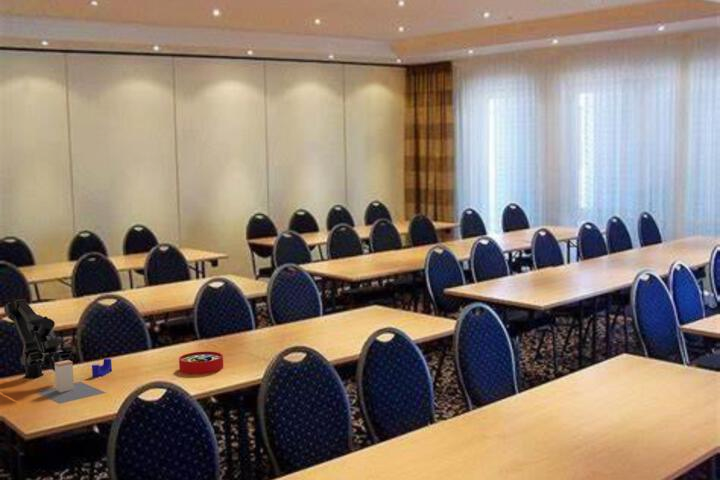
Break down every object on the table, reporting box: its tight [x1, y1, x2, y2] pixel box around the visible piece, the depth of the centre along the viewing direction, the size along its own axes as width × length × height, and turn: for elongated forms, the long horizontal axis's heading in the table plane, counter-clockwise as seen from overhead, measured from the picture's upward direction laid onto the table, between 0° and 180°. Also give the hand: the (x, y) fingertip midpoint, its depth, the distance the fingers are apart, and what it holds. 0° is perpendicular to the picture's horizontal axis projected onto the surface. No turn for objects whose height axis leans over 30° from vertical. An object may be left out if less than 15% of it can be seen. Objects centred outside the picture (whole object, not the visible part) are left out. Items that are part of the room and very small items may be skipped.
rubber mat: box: [35, 381, 107, 405], centre depth 341 cm, size 24×20×1 cm
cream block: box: [54, 359, 75, 392], centre depth 344 cm, size 4×6×12 cm, turn 134°
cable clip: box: [91, 358, 113, 378], centre depth 370 cm, size 12×4×6 cm, turn 169°
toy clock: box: [178, 350, 225, 375], centre depth 376 cm, size 20×6×20 cm
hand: (56, 371), depth 350 cm, fingers closed
